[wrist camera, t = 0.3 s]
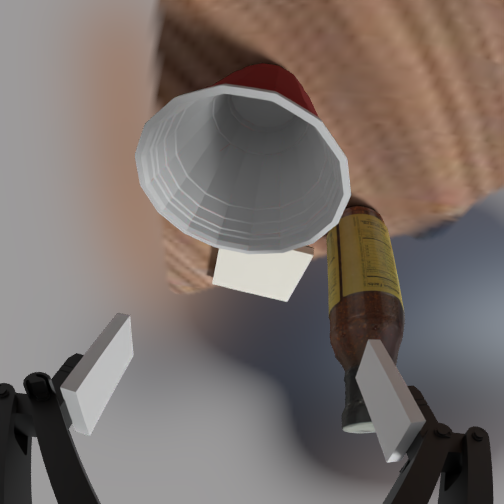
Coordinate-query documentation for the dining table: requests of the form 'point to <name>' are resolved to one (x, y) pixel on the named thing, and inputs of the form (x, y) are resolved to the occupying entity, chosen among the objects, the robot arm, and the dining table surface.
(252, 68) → the plastic cup
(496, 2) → the dining table surface
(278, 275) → the cream pad
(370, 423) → the sauce bottle
